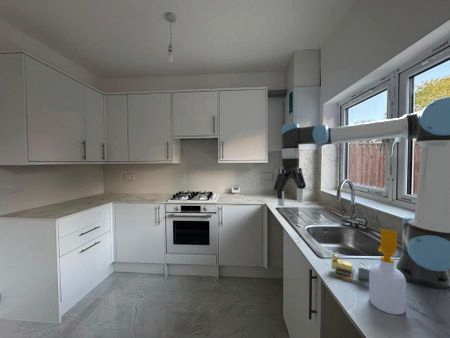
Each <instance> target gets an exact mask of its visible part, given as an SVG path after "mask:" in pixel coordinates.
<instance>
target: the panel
mask: <svg viewBox="0 0 450 338" xmlns="http://www.w3.org/2000/svg"><path fill="white" fill-rule="evenodd" d="M334 278H335V279H340V280H343V281H346V282H350V283H352V284H353V283H354V284H356V285H361V286H364V287H368V288H369V282H367V281H363V280H359V269H356V268H355V269H354V268H353V270H352V274H351V277H348V276H344V275H341V274H337V273H335V272H334Z"/></svg>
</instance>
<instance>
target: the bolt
mask: <svg viewBox="0 0 450 338" xmlns="http://www.w3.org/2000/svg"><path fill="white" fill-rule="evenodd" d="M352 267H353V262H349V261H345V260H340V259H339V255H338V254H335V253H334V254H332V259H331V270H334V271H335V270H340V271H344V272H347V273H351V274H352Z"/></svg>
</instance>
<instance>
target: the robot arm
mask: <svg viewBox="0 0 450 338" xmlns="http://www.w3.org/2000/svg"><path fill="white" fill-rule="evenodd" d="M280 134H281V135H280V137H281V157H282V159H281V166H282V167H283V168H279V169H278V173H277V176H276V177H277V178H276V180H275V183H274V187H273V190H274V192H277V203H278V205H277V206H279V207H285V191H284V188H285V187H286V185H287V183H288V181H289V180H290V179H292V180H293V181H294V183H295V184H296V186H297V188H296V202H297V203H303V201H304V199H303V195H304V189H306V186H307V184H306V181H305V178H304V175H303V172H302V171H303V169H302V167H300V158H299V157H300V145H316V146H318V147H319V146H320V147H321V146H325V145H333V144H344V143H353V142H354V143H356V142H363V141H374V140H375V141H376V140H384V139H385V140H386V139H395V138H403V139H404V140H413V139H415V144H416V145H418V146H419V147H420V148H421V149H420V150H421V151H420V160H419V169H418V170H419V171H418V179H417V190H416V199H415V201H416V202H415V211H414V216H405V217H404V218H403V219H402V223H401V225H402V242H401V243H402V244H401V245H402V247H401V248H402V249H401V251H402V252H401V255H400V257H399V259H398V262H397V263H396V267H395V268H396V269H398V270H399V271H400V272H401V273H402V274H403V275H404V276H405V279H406V281H408V282H411V283H414V284H416V285H420V286H423V287H427V288H432V289H439V290H441V289H448V288H450V276H449V273H448V271H449V270H450V96H445V97H441V98H438V99H435V100H433V101H431V102H429V103H428V104H426V105H425V106H424V107H423V108H422V109H421V110H420V111H417V112H413V113H406V114H404V115H402V117H399V118H390V119H384V120H376V121H375V120H374V121H369V122H362V123H355V124H347V125H341V126H334V127H328V126H327V124H321V125H319V124H317V125H312V126H303V127H300V126H299V124H298V123H286V124H283V125H282V126H281V133H280ZM299 167H300V168H299Z"/></svg>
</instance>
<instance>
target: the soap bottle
mask: <svg viewBox="0 0 450 338" xmlns="http://www.w3.org/2000/svg"><path fill="white" fill-rule="evenodd" d="M378 230H379V231H380V246H379V248H377V249H378V250H377V251H378V252H380V253H381V254H382V255H383V256H380V262H379V263H378V264H377V263H376V264H377V265H375V264H374V265H372V267H371V269H370V271H369V287H368V299H369V302H370V303H371V304H372V306H373V307H375V309H378V310H380V311H382V312H384V313H387V314H390V315H391V314H392V315H398V316H399V315H403V314H405V311H406V304H407V303H406V301H407V300H406V298H407V297H406V292H407V280H406V279H405V276H404V275H403V274H402V273H401V272H400V271H399V270H398V269H396V267H395V265H394V264H395V260H394V259H393V258H391V257H392V256H395V255H396V252H397V250H398V249H397V247H398V232H397V231H396V230H390V229H384V228H381V227H380V228H378Z"/></svg>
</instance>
